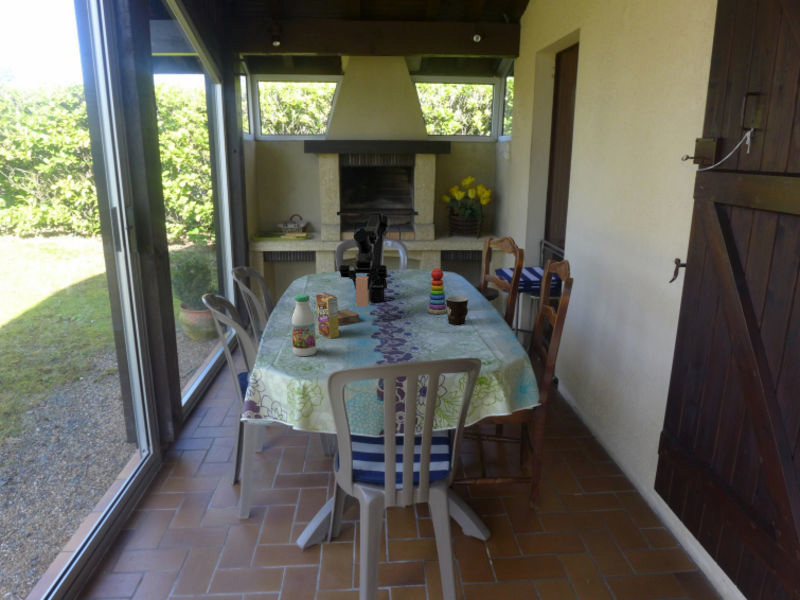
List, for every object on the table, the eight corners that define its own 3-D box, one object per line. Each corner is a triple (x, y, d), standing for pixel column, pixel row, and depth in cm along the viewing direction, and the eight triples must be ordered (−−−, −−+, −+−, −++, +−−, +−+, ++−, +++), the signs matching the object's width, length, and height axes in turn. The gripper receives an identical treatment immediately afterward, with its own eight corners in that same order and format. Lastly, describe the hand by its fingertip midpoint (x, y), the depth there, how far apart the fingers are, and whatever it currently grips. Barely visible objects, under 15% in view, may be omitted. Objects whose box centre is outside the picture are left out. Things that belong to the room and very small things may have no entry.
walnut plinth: (347, 316, 229) (347, 309, 229) (359, 321, 221) (358, 314, 221) (325, 319, 224) (325, 312, 223) (336, 326, 216) (336, 318, 215)
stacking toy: (448, 310, 237) (449, 267, 232) (444, 315, 230) (444, 271, 225) (431, 308, 240) (431, 266, 235) (425, 313, 232) (426, 269, 227)
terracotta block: (357, 303, 223) (357, 276, 220) (369, 303, 222) (368, 276, 220) (356, 306, 218) (355, 278, 216) (367, 306, 218) (367, 278, 215)
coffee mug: (445, 319, 224) (445, 295, 221) (466, 320, 223) (467, 295, 221) (446, 328, 212) (447, 303, 210) (469, 328, 212) (469, 303, 210)
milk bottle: (294, 349, 191) (291, 292, 185) (317, 348, 191) (314, 292, 186) (292, 357, 183) (288, 298, 178) (315, 356, 184) (313, 298, 179)
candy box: (317, 333, 208) (315, 293, 204) (327, 330, 210) (325, 291, 206) (329, 339, 201) (327, 298, 197) (339, 336, 203) (338, 296, 200)
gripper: (339, 244, 219) (335, 278, 211) (386, 244, 218) (384, 278, 210) (343, 260, 228) (339, 293, 221) (388, 260, 227) (386, 293, 219)
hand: (361, 289), depth 217 cm, fingers closed on terracotta block, 4 cm apart
